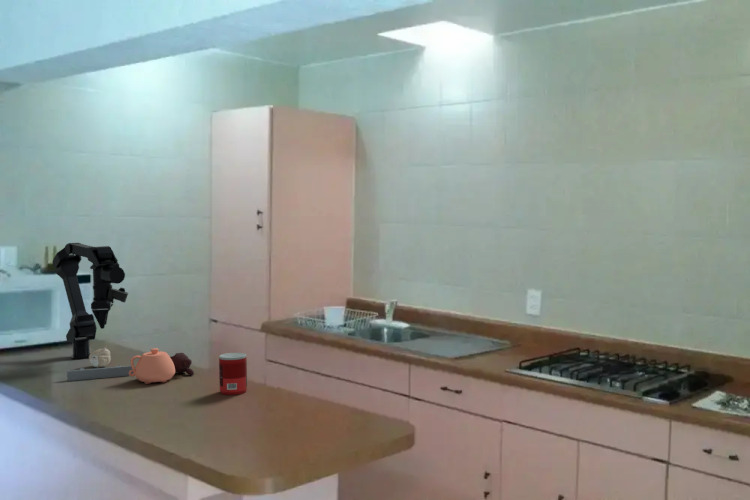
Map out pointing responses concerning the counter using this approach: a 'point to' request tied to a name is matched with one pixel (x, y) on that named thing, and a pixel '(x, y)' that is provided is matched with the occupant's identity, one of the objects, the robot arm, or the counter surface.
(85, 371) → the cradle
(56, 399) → the counter surface
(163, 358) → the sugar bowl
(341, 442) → the counter surface
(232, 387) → the canned food
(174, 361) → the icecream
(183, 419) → the counter surface
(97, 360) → the garlic bulb
